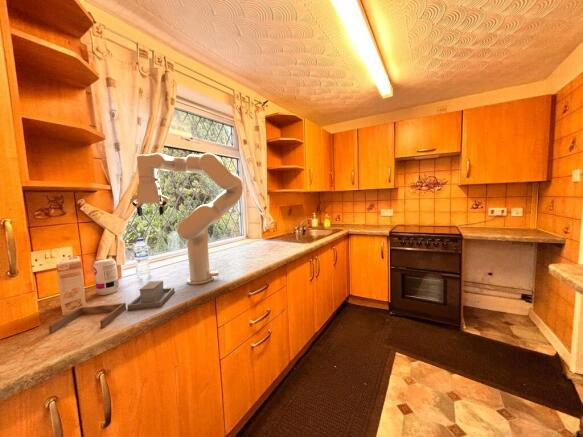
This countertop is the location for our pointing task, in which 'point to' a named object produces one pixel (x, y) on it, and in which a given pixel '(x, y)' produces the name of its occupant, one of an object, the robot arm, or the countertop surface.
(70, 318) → the frame
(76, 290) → the coffeecake box
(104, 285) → the supplement can
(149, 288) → the grey rectangular box
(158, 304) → the tray
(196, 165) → the robot arm
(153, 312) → the countertop surface
